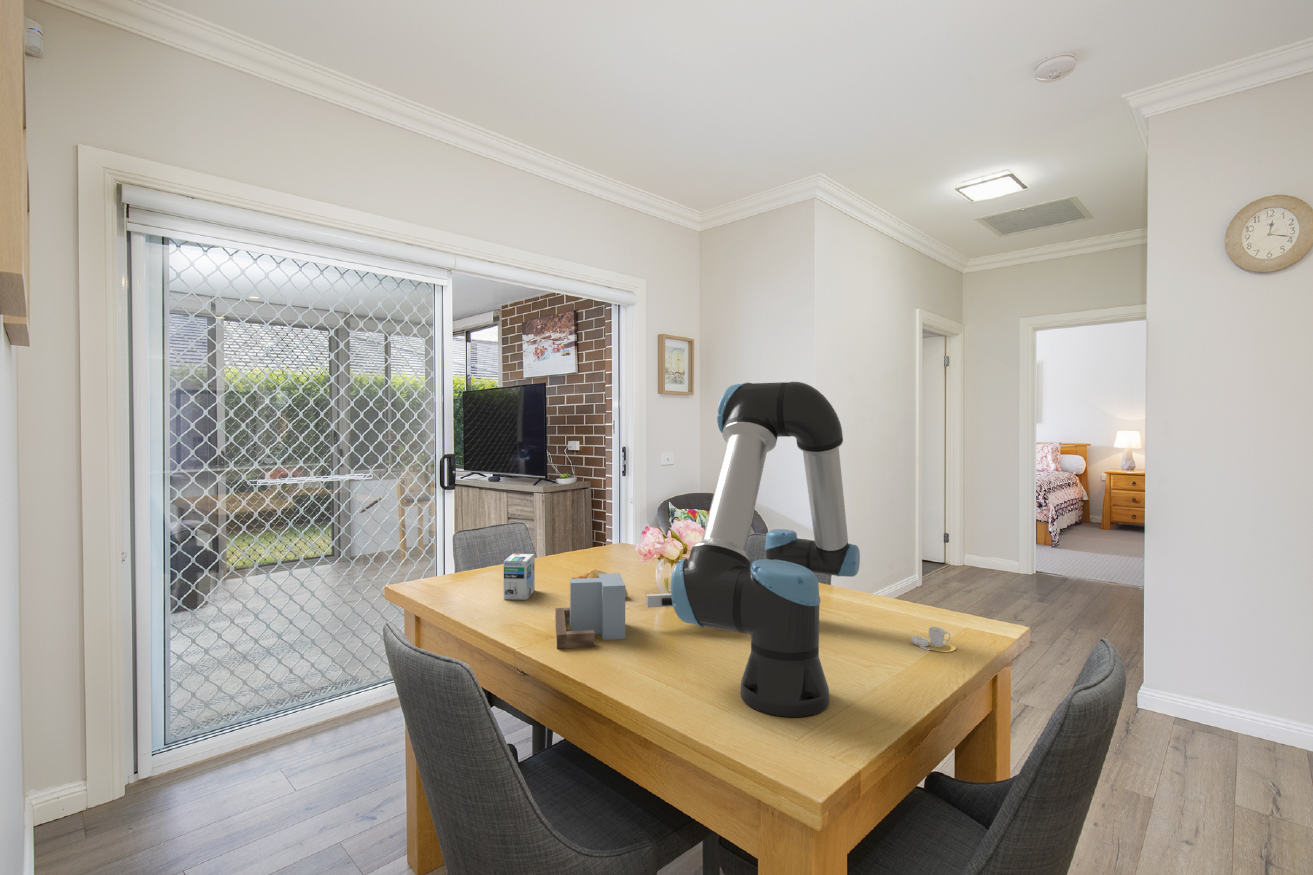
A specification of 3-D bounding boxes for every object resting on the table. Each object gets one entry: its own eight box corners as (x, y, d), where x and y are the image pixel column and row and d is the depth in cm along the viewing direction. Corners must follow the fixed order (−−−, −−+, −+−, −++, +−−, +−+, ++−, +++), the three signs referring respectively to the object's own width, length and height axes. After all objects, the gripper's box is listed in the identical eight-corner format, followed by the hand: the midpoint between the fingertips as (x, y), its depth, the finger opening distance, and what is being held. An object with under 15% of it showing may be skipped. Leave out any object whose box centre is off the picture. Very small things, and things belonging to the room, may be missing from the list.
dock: (588, 618, 154) (588, 606, 154) (594, 646, 134) (594, 632, 134) (555, 620, 152) (555, 608, 152) (557, 648, 132) (557, 634, 132)
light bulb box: (527, 600, 170) (527, 561, 170) (502, 600, 170) (502, 560, 170) (535, 590, 181) (535, 553, 180) (512, 590, 181) (512, 553, 181)
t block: (619, 622, 151) (619, 573, 151) (625, 638, 139) (625, 585, 139) (569, 624, 149) (569, 574, 149) (571, 641, 137) (571, 587, 137)
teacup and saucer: (907, 647, 136) (907, 628, 136) (920, 638, 141) (920, 620, 141) (949, 657, 130) (949, 637, 130) (961, 647, 135) (961, 629, 135)
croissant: (633, 610, 173) (642, 582, 176) (612, 600, 166) (622, 571, 168) (578, 596, 186) (587, 570, 188) (556, 586, 178) (566, 559, 181)
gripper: (751, 619, 144) (652, 625, 140) (734, 604, 157) (642, 608, 152) (752, 587, 144) (652, 592, 139) (734, 574, 157) (642, 578, 152)
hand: (647, 600), depth 146 cm, fingers closed
